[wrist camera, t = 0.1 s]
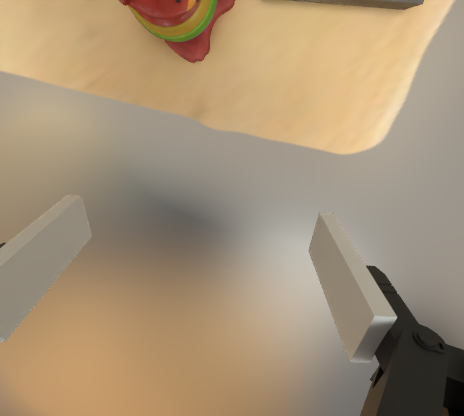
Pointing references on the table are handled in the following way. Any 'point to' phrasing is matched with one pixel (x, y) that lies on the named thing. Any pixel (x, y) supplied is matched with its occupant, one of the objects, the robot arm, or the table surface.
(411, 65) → the table surface
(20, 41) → the table surface
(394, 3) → the plinth
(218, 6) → the stacking bear
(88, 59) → the table surface
